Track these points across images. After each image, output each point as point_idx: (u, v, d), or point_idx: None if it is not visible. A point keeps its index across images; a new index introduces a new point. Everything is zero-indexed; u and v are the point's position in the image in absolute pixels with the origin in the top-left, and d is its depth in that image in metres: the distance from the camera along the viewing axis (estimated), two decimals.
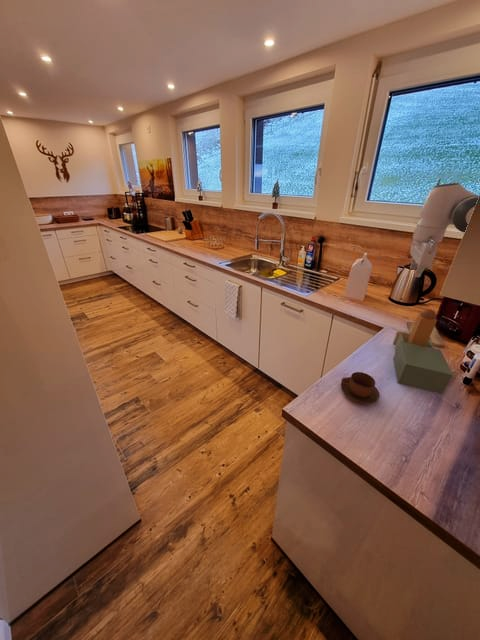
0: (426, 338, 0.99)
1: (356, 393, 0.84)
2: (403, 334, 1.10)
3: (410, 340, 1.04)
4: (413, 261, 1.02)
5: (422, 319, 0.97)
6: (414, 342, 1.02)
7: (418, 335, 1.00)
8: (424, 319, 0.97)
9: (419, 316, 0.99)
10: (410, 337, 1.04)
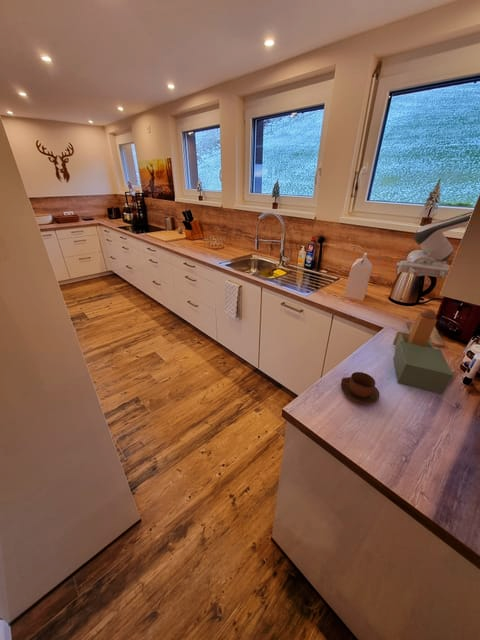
0: (426, 338, 0.99)
1: (356, 393, 0.84)
2: (403, 334, 1.10)
3: (410, 340, 1.04)
4: None
5: (422, 319, 0.97)
6: (414, 342, 1.02)
7: (418, 335, 1.00)
8: (424, 319, 0.97)
9: (419, 316, 0.99)
10: (410, 337, 1.04)
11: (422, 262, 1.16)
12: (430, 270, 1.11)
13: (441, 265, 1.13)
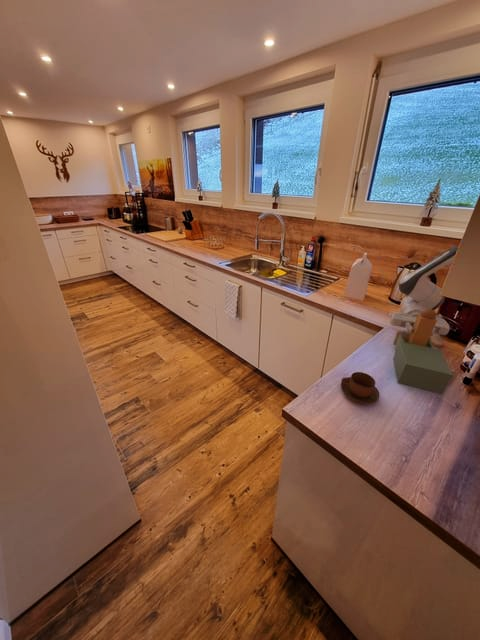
0: (426, 338, 0.99)
1: (356, 393, 0.84)
2: (403, 334, 1.10)
3: (410, 340, 1.04)
4: None
5: (422, 319, 0.97)
6: (414, 342, 1.02)
7: (418, 335, 1.00)
8: (424, 319, 0.97)
9: (419, 316, 0.99)
10: (410, 337, 1.04)
11: (416, 315, 1.08)
12: None
13: (436, 319, 1.06)
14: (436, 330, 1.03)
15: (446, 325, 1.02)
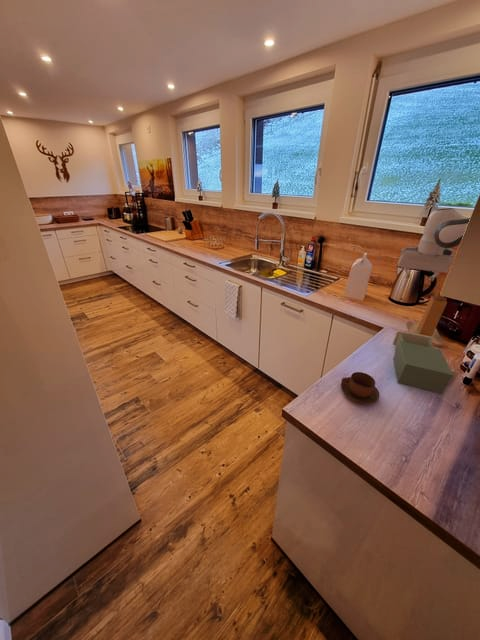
0: (437, 318, 1.16)
1: (356, 393, 0.84)
2: (403, 334, 1.10)
3: (423, 320, 1.20)
4: (434, 274, 1.17)
5: (434, 301, 1.14)
6: (427, 322, 1.18)
7: (431, 315, 1.16)
8: (436, 301, 1.13)
9: (431, 299, 1.16)
10: (423, 318, 1.21)
11: (425, 257, 1.13)
12: None
13: (445, 259, 1.11)
14: None
15: (448, 269, 1.12)
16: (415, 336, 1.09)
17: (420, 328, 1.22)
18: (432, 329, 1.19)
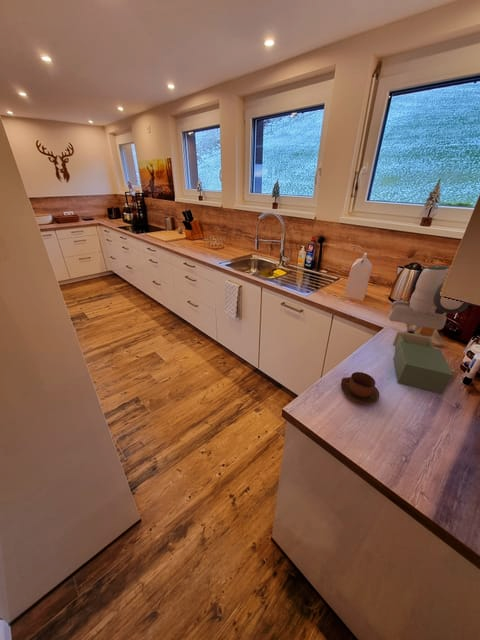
0: None
1: (356, 393, 0.84)
2: (403, 335, 1.10)
3: None
4: (415, 327, 1.13)
5: None
6: None
7: None
8: None
9: None
10: None
11: None
12: None
13: (437, 316, 1.06)
14: None
15: (440, 326, 1.07)
16: (415, 337, 1.08)
17: (420, 328, 1.22)
18: (432, 329, 1.19)
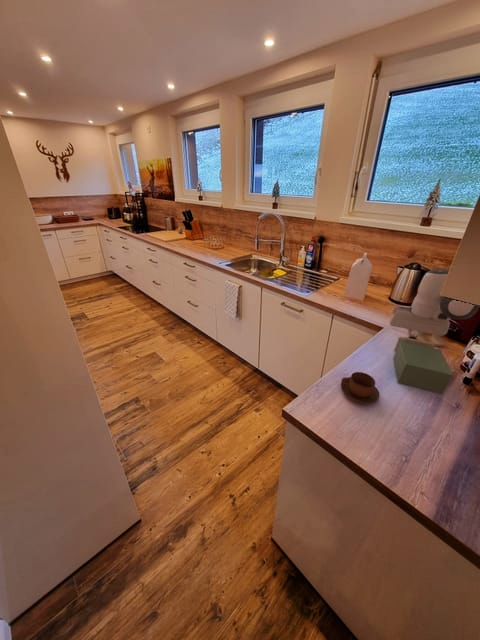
0: None
1: (356, 393, 0.84)
2: (405, 340, 1.06)
3: None
4: None
5: None
6: None
7: None
8: None
9: None
10: None
11: None
12: None
13: (440, 322, 1.02)
14: None
15: (443, 332, 1.03)
16: (417, 343, 1.04)
17: None
18: None
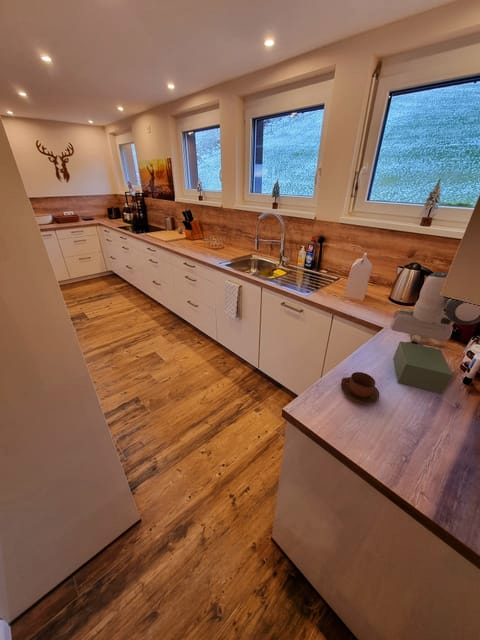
0: None
1: (356, 393, 0.84)
2: None
3: None
4: (419, 337, 1.06)
5: None
6: None
7: None
8: None
9: None
10: None
11: None
12: None
13: (443, 326, 0.99)
14: None
15: (446, 337, 1.00)
16: None
17: None
18: None
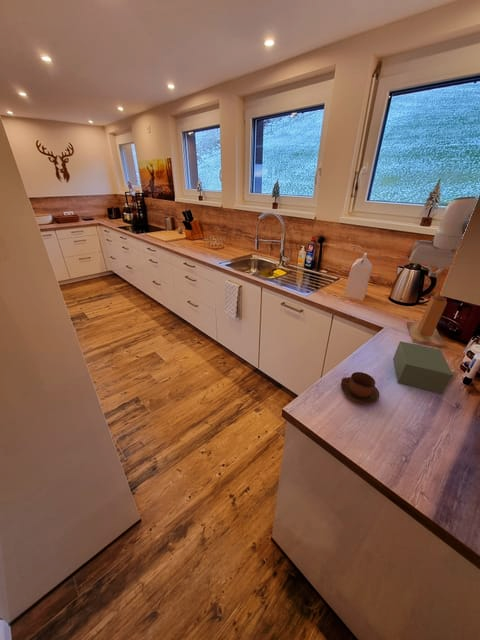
0: (437, 318, 1.16)
1: (356, 393, 0.84)
2: None
3: (423, 320, 1.20)
4: (439, 269, 1.07)
5: (434, 301, 1.14)
6: (427, 322, 1.18)
7: (431, 315, 1.16)
8: (436, 301, 1.13)
9: (431, 299, 1.16)
10: (423, 318, 1.21)
11: (441, 252, 1.02)
12: None
13: None
14: None
15: None
16: None
17: (420, 328, 1.22)
18: (432, 329, 1.19)
